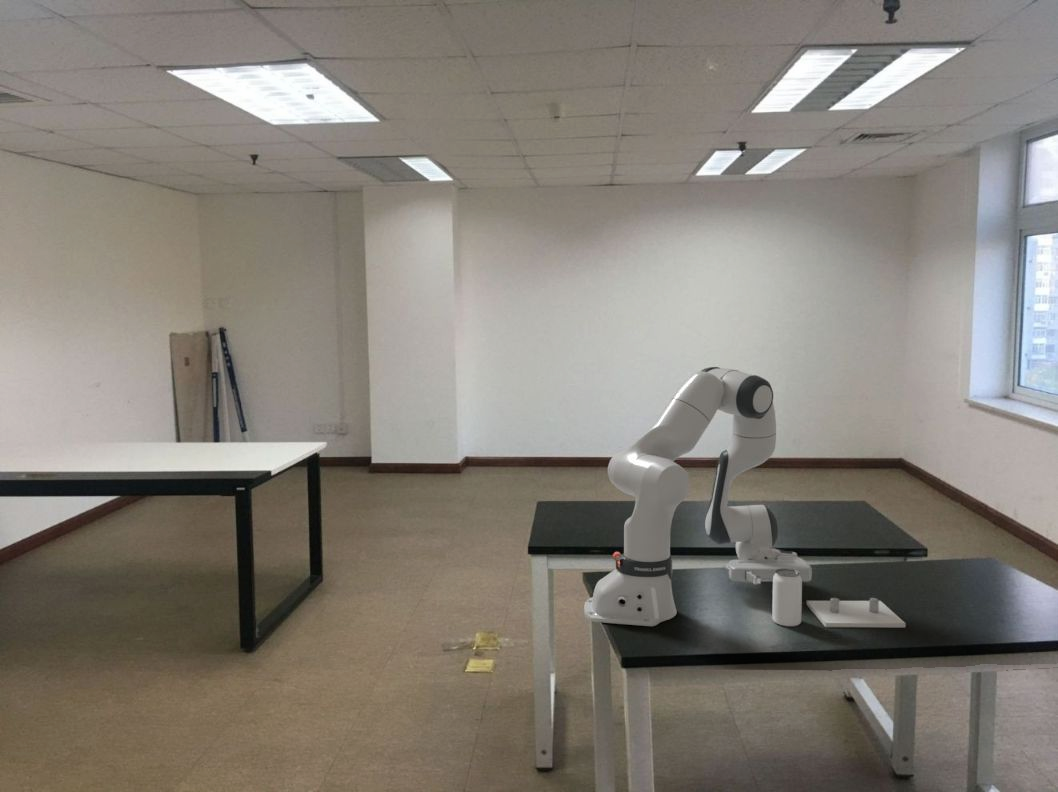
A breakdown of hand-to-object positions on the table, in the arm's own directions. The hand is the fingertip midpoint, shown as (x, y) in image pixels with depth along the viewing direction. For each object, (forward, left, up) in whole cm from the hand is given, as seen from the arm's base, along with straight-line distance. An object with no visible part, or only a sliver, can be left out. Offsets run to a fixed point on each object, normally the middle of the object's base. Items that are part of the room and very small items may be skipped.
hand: (777, 581), depth 186 cm
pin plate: (+17, -4, -7) cm, 19 cm away
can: (0, -8, -7) cm, 11 cm away
